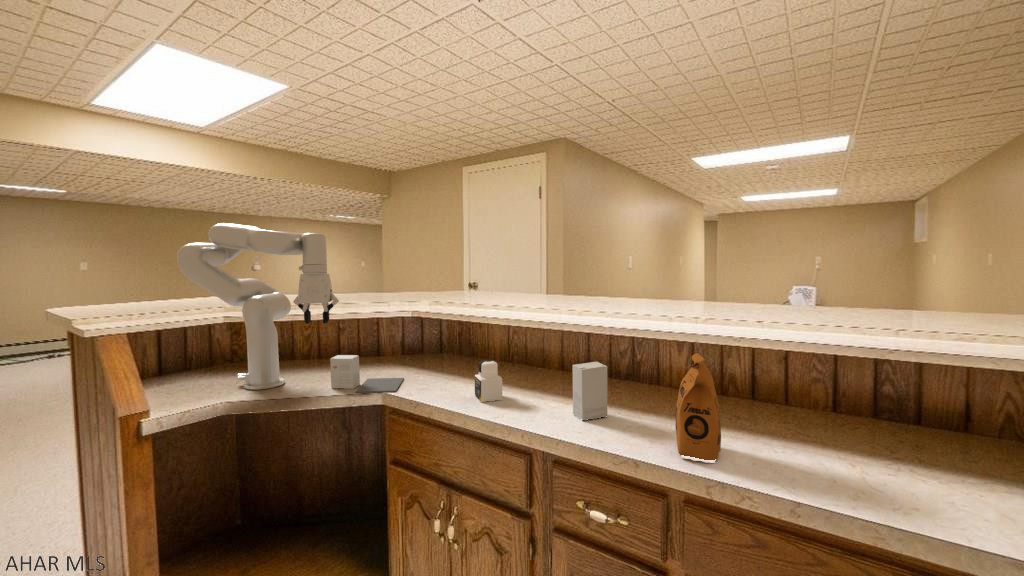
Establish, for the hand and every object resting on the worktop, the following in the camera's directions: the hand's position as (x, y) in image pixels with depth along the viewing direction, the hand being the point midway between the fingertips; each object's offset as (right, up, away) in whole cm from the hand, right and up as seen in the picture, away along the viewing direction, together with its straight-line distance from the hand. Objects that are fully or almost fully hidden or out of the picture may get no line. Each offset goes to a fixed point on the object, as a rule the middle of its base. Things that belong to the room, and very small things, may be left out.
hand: (316, 322), depth 159 cm
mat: (+21, -22, +3) cm, 31 cm away
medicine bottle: (+59, -23, -11) cm, 65 cm away
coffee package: (+109, -26, -52) cm, 124 cm away
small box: (+9, -23, +2) cm, 24 cm away
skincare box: (+88, -25, -28) cm, 96 cm away
